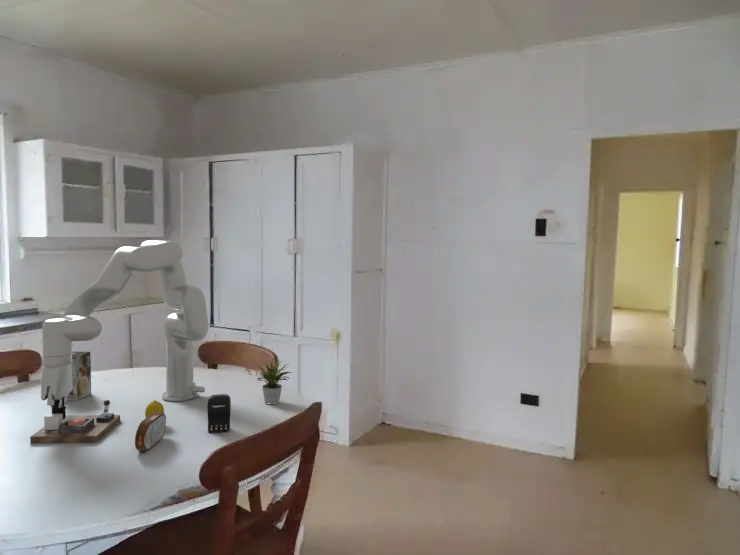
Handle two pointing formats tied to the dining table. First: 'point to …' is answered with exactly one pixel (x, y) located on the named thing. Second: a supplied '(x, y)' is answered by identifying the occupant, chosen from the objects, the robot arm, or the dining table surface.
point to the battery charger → (219, 412)
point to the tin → (150, 431)
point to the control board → (78, 430)
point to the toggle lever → (106, 406)
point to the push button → (77, 421)
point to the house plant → (272, 382)
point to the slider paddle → (53, 421)
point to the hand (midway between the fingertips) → (58, 419)
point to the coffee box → (80, 376)
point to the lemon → (154, 408)
